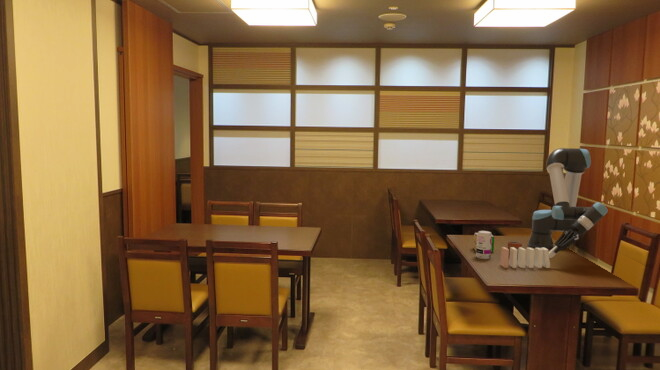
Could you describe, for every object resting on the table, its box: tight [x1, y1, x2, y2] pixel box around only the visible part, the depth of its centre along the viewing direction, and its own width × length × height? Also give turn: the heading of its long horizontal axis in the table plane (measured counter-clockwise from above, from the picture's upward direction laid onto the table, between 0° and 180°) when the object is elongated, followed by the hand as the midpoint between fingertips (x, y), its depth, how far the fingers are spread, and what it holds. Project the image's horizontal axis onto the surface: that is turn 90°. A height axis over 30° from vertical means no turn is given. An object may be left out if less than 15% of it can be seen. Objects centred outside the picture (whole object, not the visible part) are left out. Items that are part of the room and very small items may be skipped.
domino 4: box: [525, 247, 535, 269], centre depth 260 cm, size 2×5×10 cm, turn 2°
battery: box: [507, 240, 523, 260], centre depth 278 cm, size 4×7×10 cm, turn 89°
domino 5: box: [533, 248, 543, 269], centre depth 260 cm, size 2×5×10 cm, turn 2°
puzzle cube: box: [472, 232, 495, 254], centre depth 294 cm, size 10×10×10 cm
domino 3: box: [517, 246, 527, 269], centre depth 260 cm, size 2×5×10 cm, turn 2°
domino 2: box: [508, 247, 518, 269], centre depth 260 cm, size 2×5×10 cm, turn 2°
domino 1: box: [500, 246, 509, 269], centre depth 259 cm, size 2×5×10 cm, turn 2°
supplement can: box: [475, 230, 493, 260], centre depth 277 cm, size 8×8×15 cm
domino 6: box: [540, 247, 551, 269], centre depth 260 cm, size 2×5×10 cm, turn 2°
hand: (549, 255), depth 260 cm, fingers closed
